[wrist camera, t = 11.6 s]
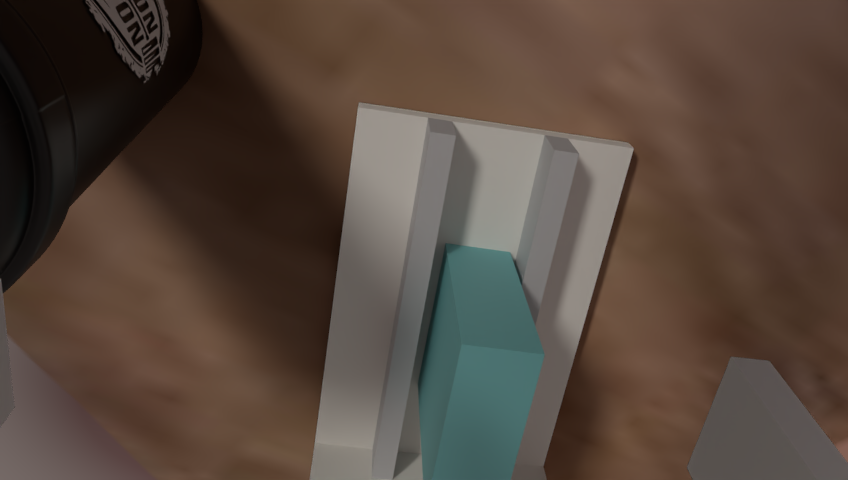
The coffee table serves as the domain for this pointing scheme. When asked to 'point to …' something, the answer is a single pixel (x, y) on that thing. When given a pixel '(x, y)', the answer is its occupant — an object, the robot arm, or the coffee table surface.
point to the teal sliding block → (477, 368)
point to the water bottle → (78, 102)
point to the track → (421, 262)
